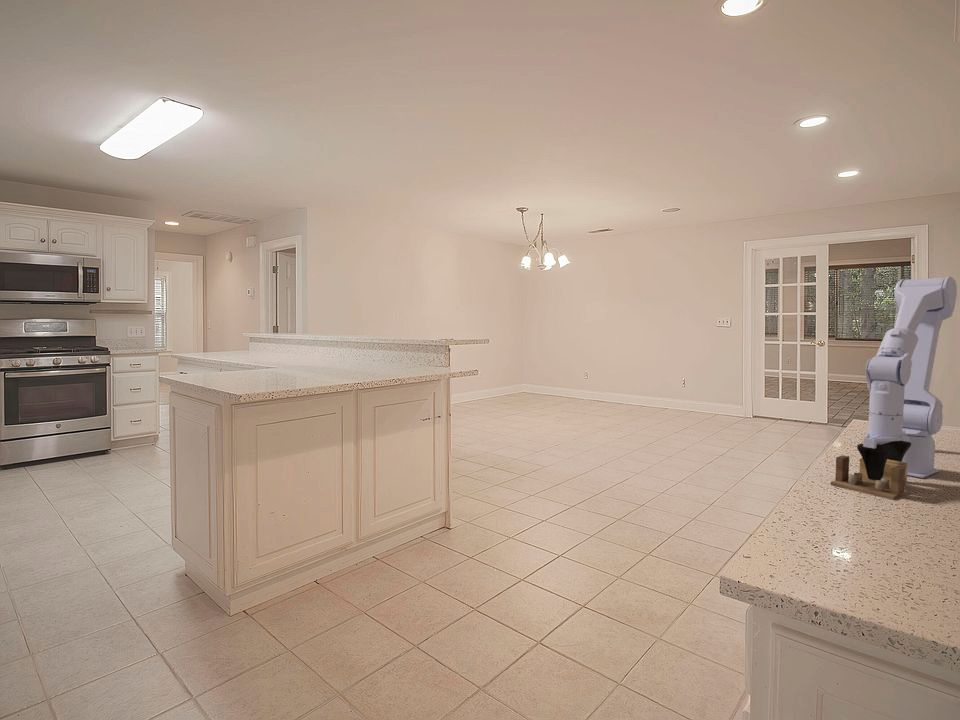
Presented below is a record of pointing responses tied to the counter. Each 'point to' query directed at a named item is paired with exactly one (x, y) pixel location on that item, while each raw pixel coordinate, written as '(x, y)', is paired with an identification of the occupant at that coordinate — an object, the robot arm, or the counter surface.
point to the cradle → (868, 487)
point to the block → (887, 470)
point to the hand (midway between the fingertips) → (882, 476)
